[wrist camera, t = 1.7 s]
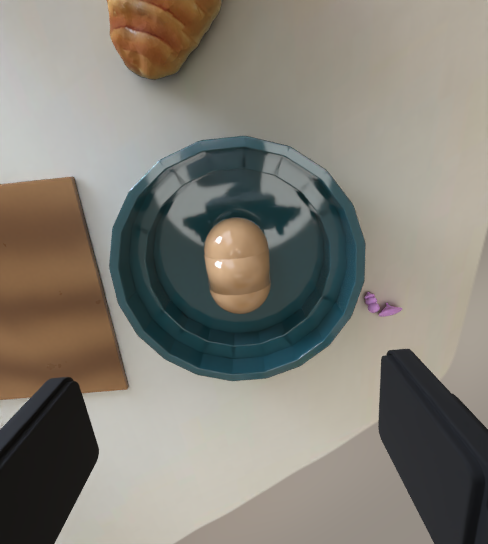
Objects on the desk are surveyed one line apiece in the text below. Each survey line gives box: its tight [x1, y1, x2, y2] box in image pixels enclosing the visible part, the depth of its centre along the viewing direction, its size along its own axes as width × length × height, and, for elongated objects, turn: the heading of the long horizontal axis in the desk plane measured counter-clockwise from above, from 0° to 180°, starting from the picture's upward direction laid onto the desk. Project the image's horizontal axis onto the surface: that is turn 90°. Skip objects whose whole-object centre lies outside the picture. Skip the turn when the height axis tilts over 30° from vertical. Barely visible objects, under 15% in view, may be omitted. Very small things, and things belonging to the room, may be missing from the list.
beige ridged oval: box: [204, 217, 271, 314], centre depth 21 cm, size 7×4×4 cm, turn 6°
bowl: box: [109, 136, 365, 381], centre depth 22 cm, size 16×16×4 cm
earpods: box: [364, 292, 402, 316], centre depth 25 cm, size 3×2×2 cm
